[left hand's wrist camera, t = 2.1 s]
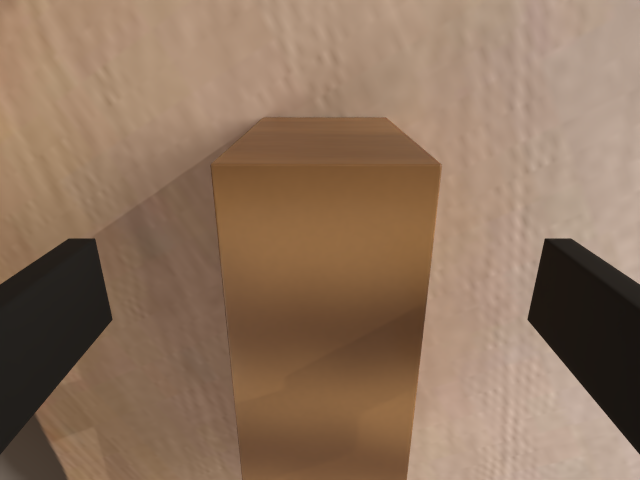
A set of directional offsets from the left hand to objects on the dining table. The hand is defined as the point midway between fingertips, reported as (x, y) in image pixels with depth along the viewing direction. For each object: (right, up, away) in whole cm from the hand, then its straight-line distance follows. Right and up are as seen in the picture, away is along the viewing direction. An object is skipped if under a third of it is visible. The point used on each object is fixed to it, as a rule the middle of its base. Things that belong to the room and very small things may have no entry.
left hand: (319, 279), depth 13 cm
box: (0, -3, +12) cm, 13 cm away
